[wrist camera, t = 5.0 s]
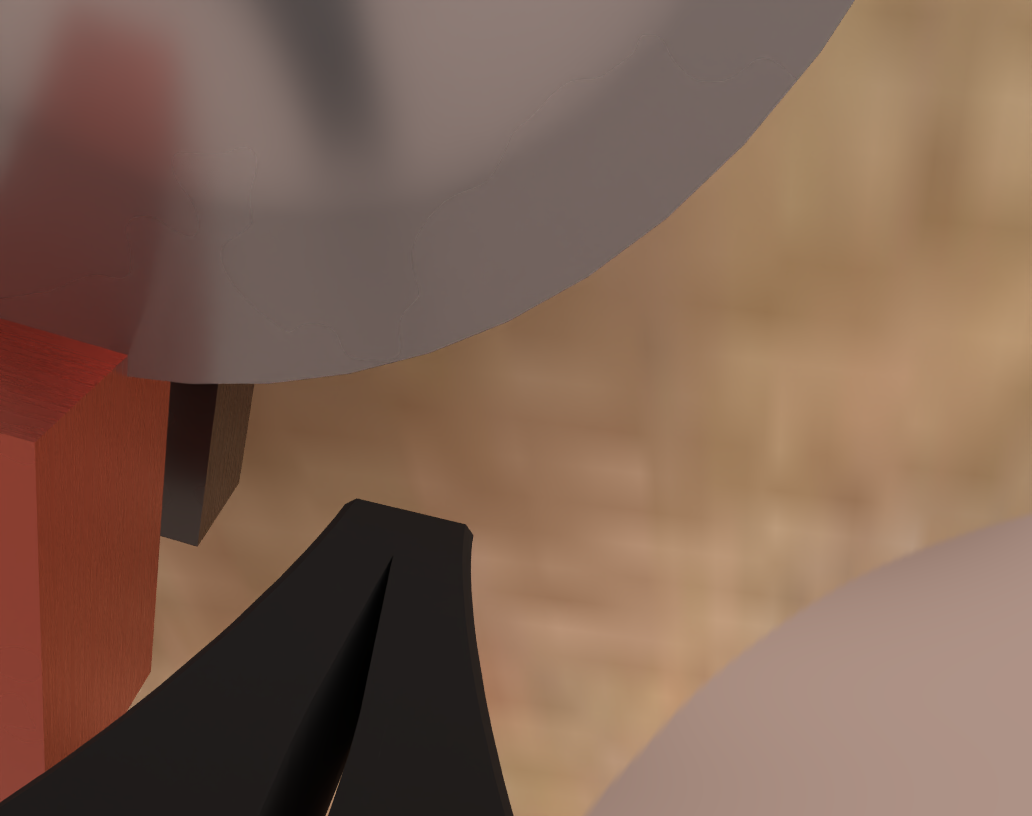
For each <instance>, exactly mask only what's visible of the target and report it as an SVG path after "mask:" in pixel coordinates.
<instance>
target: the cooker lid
mask: <svg viewBox="0 0 1032 816" xmlns="http://www.w3.org/2000/svg"><path fill="white" fill-rule="evenodd" d="M853 2H854V0H0V802H1V801H3V800H4V799H6V798H7V797H9V796H10V795H12V794H13V793H15V792H16V791H17V790H19V789H20V788H22V787H23V786H25V785H26V784H28V783H29V782H31V781H32V780H34V779H35V778H37V777H38V776H40V775H41V774H43V773H44V772H46V771H47V770H48V769H50V768H51V767H53V766H54V765H56V764H57V763H58V762H60V761H61V760H63V759H64V758H65V757H67V756H68V755H69V754H71V753H72V752H74V751H75V750H76V749H78V748H79V747H80V746H82V745H83V744H84V743H86V742H87V741H89V740H90V739H91V738H93V737H94V736H95V735H97V734H98V733H99V732H101V731H102V730H104V729H105V728H106V727H108V726H109V725H110V724H111V723H113V722H114V721H115V720H117V719H118V718H119V717H121V716H122V715H123V714H125V713H126V712H127V710H128V708H129V707H130V705H131V703H132V702H133V700H134V698H135V697H136V695H137V693H138V692H139V690H140V688H141V687H142V685H143V683H144V682H145V680H146V678H147V677H148V675H149V674H150V672H151V661H152V646H153V632H154V617H155V603H156V588H157V573H158V559H159V544H160V530H161V515H162V500H163V486H164V471H165V457H166V442H167V427H168V413H169V398H170V384H171V382H178V383H186V384H269V383H278V382H286V381H294V380H302V379H310V378H318V377H326V376H334V375H342V374H350V373H353V372H357V371H361V370H365V369H369V368H373V367H377V366H381V365H385V364H389V363H393V362H396V361H400V360H404V359H408V358H412V357H416V356H420V355H424V354H428V353H431V352H433V351H436V350H438V349H441V348H443V347H446V346H448V345H451V344H453V343H456V342H458V341H461V340H463V339H466V338H468V337H471V336H473V335H476V334H478V333H481V332H483V331H486V330H488V329H491V328H493V327H496V326H498V325H501V324H503V323H506V322H508V321H510V320H512V319H513V318H515V317H517V316H519V315H521V314H522V313H524V312H526V311H528V310H530V309H531V308H533V307H535V306H537V305H538V304H540V303H542V302H544V301H546V300H547V299H549V298H551V297H553V296H555V295H556V294H558V293H560V292H562V291H564V290H565V289H567V288H569V287H571V286H572V285H574V284H576V283H578V282H580V281H581V280H583V279H585V278H587V277H588V276H590V275H591V274H592V273H594V272H595V271H596V270H598V269H599V268H600V267H602V266H603V265H604V264H606V263H607V262H609V261H610V260H611V259H613V258H614V257H615V256H617V255H618V254H619V253H621V252H622V251H623V250H625V249H626V248H627V247H629V246H630V245H631V244H633V243H634V242H635V241H637V240H638V239H640V238H641V237H642V236H644V235H645V234H646V233H648V232H649V231H650V230H652V229H653V228H654V227H656V226H657V225H658V224H660V223H661V222H662V221H664V220H665V219H666V218H668V217H669V216H670V215H671V214H672V213H673V212H674V211H675V210H676V209H677V208H678V207H679V206H680V205H681V204H682V203H683V202H684V201H685V200H686V199H687V198H688V197H690V196H691V195H692V194H693V193H694V192H695V191H696V190H697V189H698V188H699V187H700V186H701V185H702V184H703V183H704V182H705V181H706V180H707V179H708V178H709V177H711V176H712V175H713V174H714V173H715V172H716V171H717V170H718V169H719V168H720V167H721V166H722V165H723V164H724V163H725V162H726V161H727V160H728V159H729V158H730V157H732V156H733V155H734V154H735V153H736V152H737V151H738V150H739V149H740V148H741V147H742V146H743V145H744V144H745V143H746V142H747V140H748V139H749V138H750V137H751V136H752V134H753V133H754V132H755V131H756V130H757V128H758V127H759V126H760V125H761V124H762V122H763V121H764V120H765V119H766V117H767V116H768V115H769V114H770V113H771V111H772V110H773V109H774V108H775V107H776V105H777V104H778V103H779V102H780V101H781V99H782V98H783V97H784V96H785V95H786V93H787V92H788V91H789V90H790V88H791V87H792V86H793V85H794V84H795V82H796V81H797V80H798V79H799V78H800V76H801V75H802V74H803V73H804V72H805V70H806V69H807V68H808V67H809V66H810V64H811V63H812V62H813V61H814V59H815V58H816V57H817V56H818V55H819V53H820V52H821V51H822V49H823V48H824V46H825V45H826V43H827V42H828V40H829V39H830V37H831V36H832V34H833V33H834V31H835V29H836V28H837V26H838V25H839V23H840V22H841V20H842V19H843V17H844V16H845V14H846V13H847V11H848V10H849V8H850V7H851V5H852V3H853Z"/></svg>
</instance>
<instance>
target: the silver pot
mask: <svg viewBox="0 0 1032 816" xmlns="http://www.w3.org/2000/svg"><path fill="white" fill-rule="evenodd" d="M253 388H254V384H186V383H178V382H171V384H170V398H169V413H168V427H167V442H166V457H165V471H164V486H163V500H162V515H161V530H160V536H163V537H166V538H170V539H173V540H177V541H180V542H184V543H187V544H190V545H194V546H197V547H198V545H199V544H200V542H201V540H202V539H203V537H204V536H205V534H206V533H207V531H208V530H209V528H210V527H211V525H212V524H213V522H214V520H215V519H216V517H217V516H218V514H219V513H220V511H221V510H222V508H223V507H224V505H225V504H226V502H227V500H228V499H229V497H230V496H231V494H232V493H233V491H234V490H235V488H236V487H237V485H238V484H239V479H240V473H241V466H242V460H243V453H244V447H245V440H246V433H247V427H248V420H249V414H250V407H251V401H252V394H253Z"/></svg>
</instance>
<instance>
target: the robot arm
mask: <svg viewBox="0 0 1032 816" xmlns="http://www.w3.org/2000/svg"><path fill="white" fill-rule="evenodd" d="M472 541H473V534H472V533H471V531H470V530H469V528H468V527H467V526H466V524H462V523H457V522H453V521H449V520H445V519H441V518H436V517H432V516H428V515H424V514H420V513H415V512H411V511H407V510H403V509H399V508H395V507H390V506H386V505H382V504H378V503H374V502H369V501H365V500H361V499H355V500H353V501H351V502H349V503H347V504H345V505H344V506H343V508H342V509H341V510H340V512H339V513H338V514H337V515H336V517H335V518H334V519H333V520H332V521H331V523H330V524H329V525H328V526H327V527H326V529H325V530H324V531H323V532H322V533H321V534H320V535H319V537H318V538H317V539H316V540H315V541H314V542H313V543H312V544H311V545H310V546H309V548H308V549H307V550H306V551H305V552H304V553H303V554H302V555H301V556H300V557H299V558H298V559H297V560H296V561H295V562H294V563H293V564H292V565H291V566H290V568H289V569H288V570H287V571H286V572H285V573H284V574H283V575H282V576H281V577H280V578H279V579H278V580H277V581H276V582H275V583H274V584H273V585H272V586H270V587H269V588H268V589H267V590H266V591H265V592H264V593H263V594H262V595H261V596H260V597H259V598H258V599H257V600H256V601H255V602H254V603H253V604H252V605H251V606H250V607H249V608H248V609H246V610H245V611H244V612H243V613H242V614H241V615H240V616H239V617H238V618H237V619H236V620H235V621H234V622H233V623H232V624H231V625H230V626H228V627H227V628H226V629H225V630H224V631H223V632H222V633H221V634H220V635H218V636H217V637H216V638H215V639H214V640H213V641H211V642H210V643H209V644H208V645H207V646H206V647H204V648H203V649H202V650H201V651H200V652H199V653H197V654H196V655H195V656H194V657H193V658H191V659H190V660H189V661H188V662H187V663H186V664H184V665H183V666H182V667H181V668H180V669H179V670H177V671H176V672H175V673H174V674H173V675H172V676H170V677H169V678H168V679H167V680H166V681H165V682H163V683H162V684H161V685H160V686H159V687H157V688H156V689H155V690H154V691H152V692H151V693H150V694H149V695H147V696H146V697H145V698H144V699H142V700H141V701H140V702H139V703H137V704H136V705H135V706H133V707H132V708H131V709H130V710H128V711H127V712H126V713H125V714H123V715H122V716H121V717H119V718H118V719H117V720H115V721H114V722H113V723H111V724H110V725H109V726H108V727H106V728H105V729H104V730H102V731H101V732H99V733H98V734H97V735H95V736H94V737H93V738H91V739H90V740H89V741H87V742H86V743H84V744H83V745H82V746H80V747H79V748H78V749H76V750H75V751H74V752H72V753H71V754H69V755H68V756H67V757H65V758H64V759H63V760H61V761H60V762H58V763H57V764H56V765H54V766H53V767H51V768H50V769H48V770H47V771H46V772H44V773H43V774H41V775H40V776H38V777H37V778H35V779H34V780H32V781H31V782H29V783H28V784H26V785H25V786H23V787H22V788H20V789H19V790H17V791H16V792H15V793H13V794H12V795H10V796H9V797H7V798H6V799H4V800H3V801H1V802H0V816H325V815H326V813H327V810H328V808H329V805H330V803H331V800H332V798H333V795H334V793H335V790H336V788H337V785H338V783H339V785H338V788H337V791H336V794H335V797H334V800H333V803H332V806H331V809H330V812H329V815H328V816H513V812H512V809H511V805H510V802H509V798H508V794H507V790H506V786H505V782H504V779H503V775H502V770H501V766H500V762H499V758H498V753H497V749H496V745H495V740H494V736H493V732H492V727H491V722H490V717H489V712H488V708H487V703H486V698H485V692H484V685H483V679H482V673H481V667H480V661H479V655H478V649H477V642H476V634H475V626H474V616H473V604H472V592H471V549H472ZM343 770H344V771H343ZM342 773H343V774H342ZM341 775H342V777H341ZM340 778H341V780H340ZM339 780H340V782H339Z"/></svg>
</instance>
